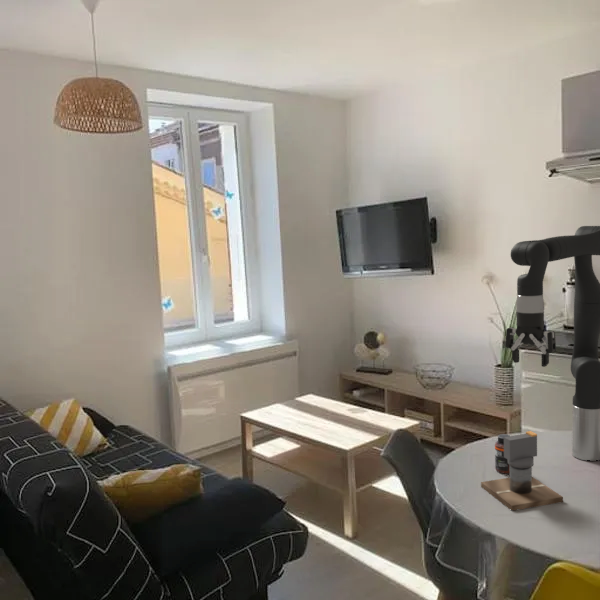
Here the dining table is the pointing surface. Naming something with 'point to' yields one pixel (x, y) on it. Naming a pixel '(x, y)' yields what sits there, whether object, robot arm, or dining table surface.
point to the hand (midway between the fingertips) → (530, 364)
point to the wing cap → (521, 449)
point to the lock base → (521, 498)
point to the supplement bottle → (501, 455)
